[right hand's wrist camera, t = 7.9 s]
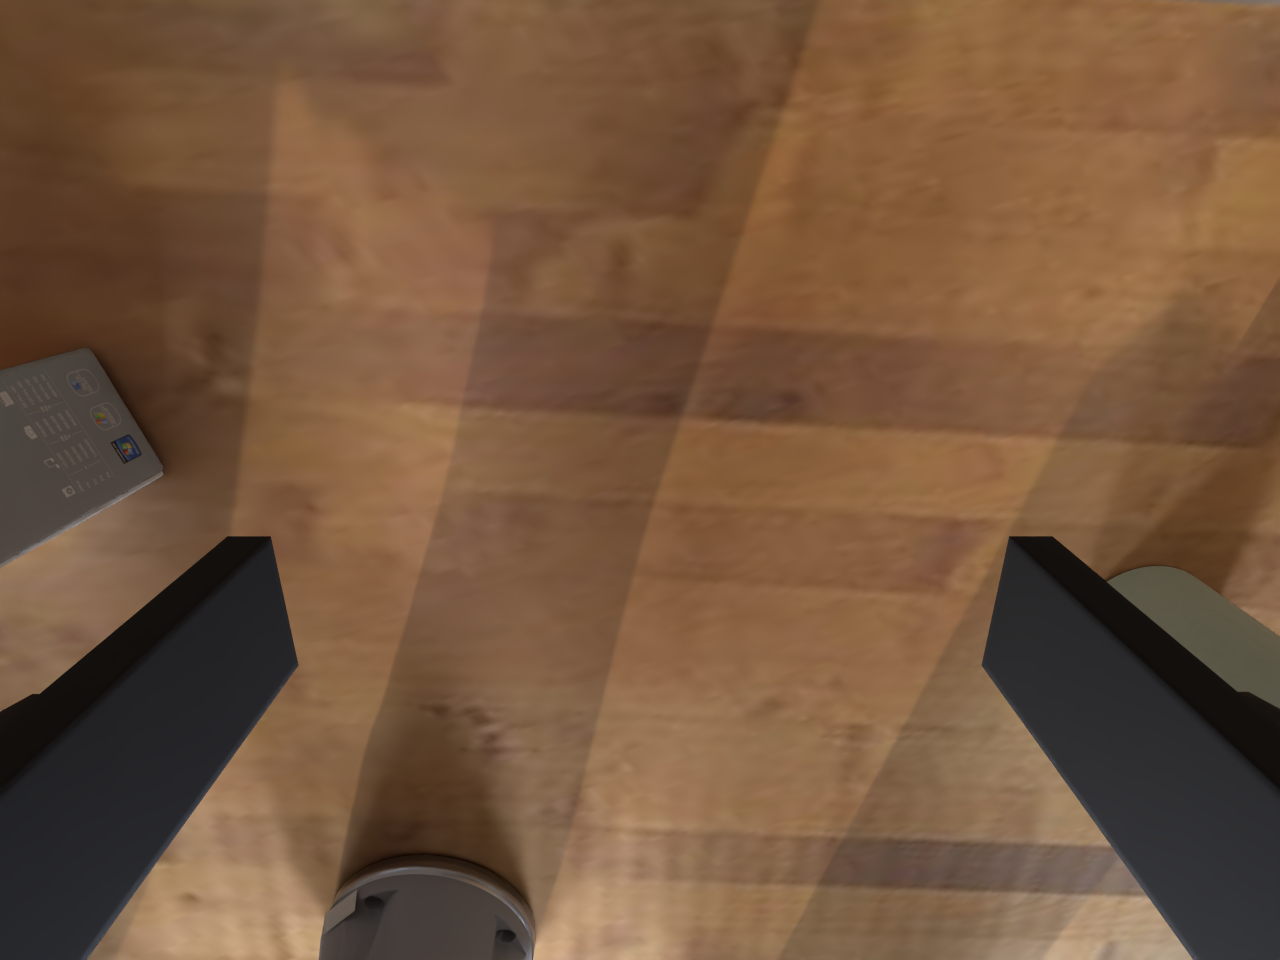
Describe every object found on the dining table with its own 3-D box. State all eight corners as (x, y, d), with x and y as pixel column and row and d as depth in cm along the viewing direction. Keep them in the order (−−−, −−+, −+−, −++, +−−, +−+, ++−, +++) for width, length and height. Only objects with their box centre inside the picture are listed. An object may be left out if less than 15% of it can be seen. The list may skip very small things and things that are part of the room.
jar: (1061, 588, 43) (1267, 784, 29) (1206, 548, 42) (1492, 730, 28) (1077, 694, 46) (1271, 919, 32) (1213, 659, 45) (1475, 875, 31)
